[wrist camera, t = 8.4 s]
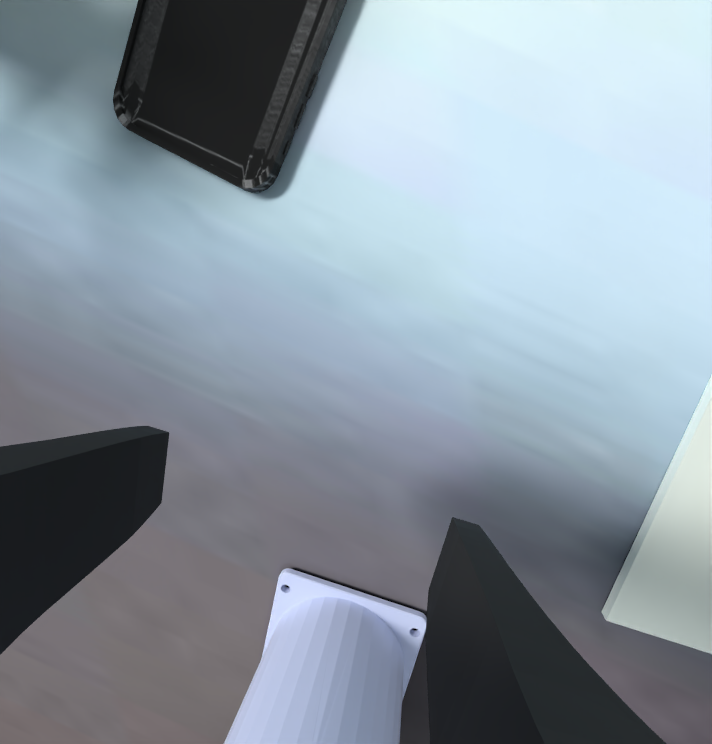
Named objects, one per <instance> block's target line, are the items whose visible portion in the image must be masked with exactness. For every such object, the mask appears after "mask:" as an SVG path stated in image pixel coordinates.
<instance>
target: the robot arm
mask: <svg viewBox="0 0 712 744" xmlns="http://www.w3.org/2000/svg"><path fill="white" fill-rule="evenodd" d="M168 439H169V432H166V431H163V430H160V429H156V428H153V427H149V426H137V427H127V428H120V429H113V430H106V431H100V432H94V433H88V434H81V435H75V436H69V437H63V438H57V439H51V440H45V441H38V442H31V443H24V444H16V445H9V446H2V447H0V654H1V653H2V652H3V651H4V650H5V649H6V648H7V647H8V646H9V645H10V644H11V643H12V642H13V641H14V640H15V639H16V638H17V637H18V636H19V635H20V634H21V633H22V632H23V631H25V630H26V629H27V628H28V627H29V626H30V625H31V624H32V623H33V622H34V621H35V620H36V619H37V618H39V617H40V616H41V615H42V614H43V613H44V612H45V611H46V610H48V609H49V608H50V607H51V606H52V605H53V604H54V603H56V602H57V601H58V600H59V599H60V598H61V597H63V596H64V595H65V594H66V593H67V592H68V591H70V590H71V589H72V588H73V587H74V586H75V585H76V584H78V583H79V582H80V581H81V580H82V579H83V578H85V577H86V576H87V575H88V574H89V573H90V572H92V571H93V570H94V569H95V568H96V567H97V566H98V565H100V564H101V563H102V562H103V561H104V560H105V559H107V558H108V557H109V556H110V555H111V554H112V553H113V552H114V551H116V550H117V549H118V548H119V547H120V546H121V545H122V544H124V543H125V542H126V541H127V540H128V539H129V538H130V537H131V536H132V535H133V534H134V533H135V532H136V531H137V530H138V529H139V528H140V527H141V526H142V525H143V523H144V522H145V521H146V520H147V519H148V518H149V517H150V516H151V514H152V513H153V512H154V511H155V510H156V509H157V507H158V506H159V505H160V504H161V501H162V492H163V483H164V474H165V465H166V457H167V448H168ZM285 585H288V586H289V587H290V588H288V587H286V586H285ZM412 628H416V629H418V630H412ZM425 632H426V658H427V681H428V703H429V724H430V744H666V743H665V742H664V741H663V740H662V739H661V738H660V737H659V736H658V735H657V734H656V733H654V732H653V731H652V730H651V729H650V728H649V727H648V726H647V725H646V724H645V723H644V722H643V721H642V720H641V719H640V718H639V717H638V716H637V715H636V714H635V713H634V712H633V711H632V710H631V709H630V708H629V707H628V706H627V705H626V704H625V703H624V702H623V701H622V700H621V698H620V697H619V696H618V695H617V694H616V693H615V692H614V691H613V690H612V689H611V688H610V687H609V686H608V685H607V684H606V683H605V681H604V680H603V679H602V678H601V677H600V676H599V675H598V674H597V673H596V672H595V671H594V670H593V669H592V668H591V667H590V666H589V664H588V663H587V662H586V661H585V660H584V659H583V658H582V657H581V655H580V654H579V653H578V652H577V651H576V650H575V649H574V648H573V646H572V645H571V644H570V643H569V642H568V641H567V639H566V638H565V637H564V636H563V635H562V633H561V632H560V631H559V630H558V629H557V627H556V626H555V625H554V624H553V623H552V621H551V620H550V619H549V618H548V617H547V615H546V614H545V613H544V612H543V610H542V609H541V608H540V607H539V605H538V604H537V603H536V601H535V600H534V599H533V598H532V596H531V595H530V594H529V592H528V591H527V590H526V588H525V587H524V586H523V584H522V583H521V582H520V580H519V579H518V578H517V576H516V575H515V574H514V572H513V571H512V570H511V568H510V567H509V566H508V564H507V563H506V561H505V560H504V559H503V557H502V556H501V554H500V553H499V552H498V550H497V549H496V547H495V546H494V545H493V543H492V542H491V540H490V539H489V538H488V536H487V535H486V534H485V532H484V531H483V530H482V528H481V527H480V526H479V525H476V524H473V523H470V522H466V521H463V520H460V519H456V518H453V517H452V520H451V523H450V526H449V529H448V532H447V535H446V538H445V541H444V544H443V548H442V551H441V554H440V557H439V560H438V563H437V566H436V569H435V572H434V575H433V578H432V581H431V585H430V588H429V593H428V606H427V618H426V616H425V615H424V614H423V613H422V612H420V611H417V610H414V609H411V608H408V607H405V606H402V605H399V604H396V603H393V602H390V601H387V600H384V599H381V598H378V597H375V596H372V595H369V594H365V593H362V592H359V591H356V590H353V589H350V588H347V587H344V586H341V585H338V584H335V583H332V582H329V581H326V580H323V579H320V578H317V577H314V576H311V575H308V574H305V573H302V572H299V571H296V570H293V569H289V568H287V569H284V570H282V572H281V574H280V576H279V579H278V583H277V588H276V593H275V598H274V603H273V607H272V612H271V617H270V622H269V627H268V631H267V636H266V641H265V646H264V651H263V655H262V659H261V662H260V664H259V666H258V668H257V671H256V673H255V675H254V677H253V680H252V682H251V684H250V686H249V689H248V691H247V693H246V695H245V698H244V700H243V702H242V704H241V707H240V709H239V711H238V713H237V716H236V718H235V720H234V722H233V725H232V727H231V729H230V731H229V734H228V736H227V738H226V740H225V743H224V744H400V727H401V710H402V701H403V698H404V695H405V692H406V689H407V686H408V683H409V680H410V677H411V674H412V671H413V668H414V665H415V662H416V659H417V656H418V653H419V650H420V647H421V644H422V641H423V638H424V635H425Z"/></svg>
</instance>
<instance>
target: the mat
mask: <svg viewBox="0 0 712 744" xmlns="http://www.w3.org/2000/svg"><path fill="white" fill-rule="evenodd" d="M602 614H603V616H604V618H605V619H606V621H609V622H612V623H615V624H619V625H622V626H625V627H628V628H631V629H634V630H638V631H641V632H644V633H647V634H650V635H653V636H657V637H660V638H663V639H666V640H669V641H672V642H675V643H679V644H682V645H685V646H688V647H691V648H694V649H698V650H701V651H704V652H707V653H710V654H712V375H711V377H710V379H709V382H708V384H707V386H706V388H705V390H704V392H703V395H702V397H701V399H700V401H699V403H698V405H697V407H696V410H695V412H694V414H693V416H692V418H691V420H690V422H689V425H688V427H687V429H686V431H685V433H684V435H683V438H682V440H681V442H680V444H679V446H678V448H677V450H676V453H675V455H674V457H673V459H672V461H671V463H670V465H669V468H668V470H667V472H666V474H665V476H664V478H663V481H662V483H661V485H660V487H659V489H658V491H657V493H656V496H655V498H654V500H653V502H652V504H651V506H650V508H649V511H648V513H647V515H646V517H645V519H644V521H643V524H642V526H641V528H640V530H639V532H638V534H637V536H636V539H635V541H634V543H633V545H632V547H631V549H630V552H629V554H628V556H627V558H626V560H625V562H624V564H623V567H622V569H621V571H620V573H619V575H618V577H617V579H616V582H615V584H614V586H613V588H612V590H611V592H610V595H609V597H608V599H607V601H606V603H605V605H604V607H603V610H602Z"/></svg>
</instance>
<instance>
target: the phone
mask: <svg viewBox="0 0 712 744" xmlns="http://www.w3.org/2000/svg"><path fill="white" fill-rule="evenodd" d="M346 2H347V0H138V4H137V8H136V11H135V15H134V19H133V23H132V26H131V30H130V34H129V38H128V41H127V45H126V49H125V53H124V56H123V60H122V64H121V68H120V71H119V75H118V79H117V83H116V86H115V90H114V97H113V103H114V110H115V113H116V115H117V118H118V119H119V121H120V122H121V124H122V125H123V126H124V127H126V128H127V129H128V130H130V131H132V132H134V133H136V134H137V135H139V136H141V137H143V138H145V139H147V140H149V141H151V142H153V143H155V144H157V145H159V146H161V147H162V148H164V149H166V150H168V151H170V152H172V153H174V154H176V155H178V156H180V157H182V158H184V159H186V160H188V161H189V162H191V163H193V164H195V165H197V166H199V167H201V168H203V169H205V170H207V171H209V172H211V173H213V174H215V175H217V176H218V177H220V178H222V179H224V180H226V181H228V182H230V183H232V184H234V185H236V186H238V187H240V188H242V189H244V190H246V191H249V192H261V191H264V190H266V189H268V188H269V187H270V186H271V185H272V184H273V183H274V181H275V179H276V178H277V176H278V174H279V171H280V168H281V166H282V163H283V161H284V158H285V156H286V154H287V152H288V149H289V147H290V144H291V141H292V138H293V136H294V133H295V131H296V129H297V128H298V125H299V122H300V120H301V117H302V115H303V112H304V110H305V107H306V103H307V100H308V98H310V96H311V93H312V91H313V88H314V86H315V83H316V81H317V78H318V76H317V75H318V72H319V70H320V67H321V65H322V62H323V60H324V57H325V55H326V52H327V50H328V47H329V45H330V42H331V40H332V37H333V35H334V32H335V29H336V27H337V24H338V22H339V19H340V17H341V14H342V12H343V9H344V7H345V4H346Z"/></svg>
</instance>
